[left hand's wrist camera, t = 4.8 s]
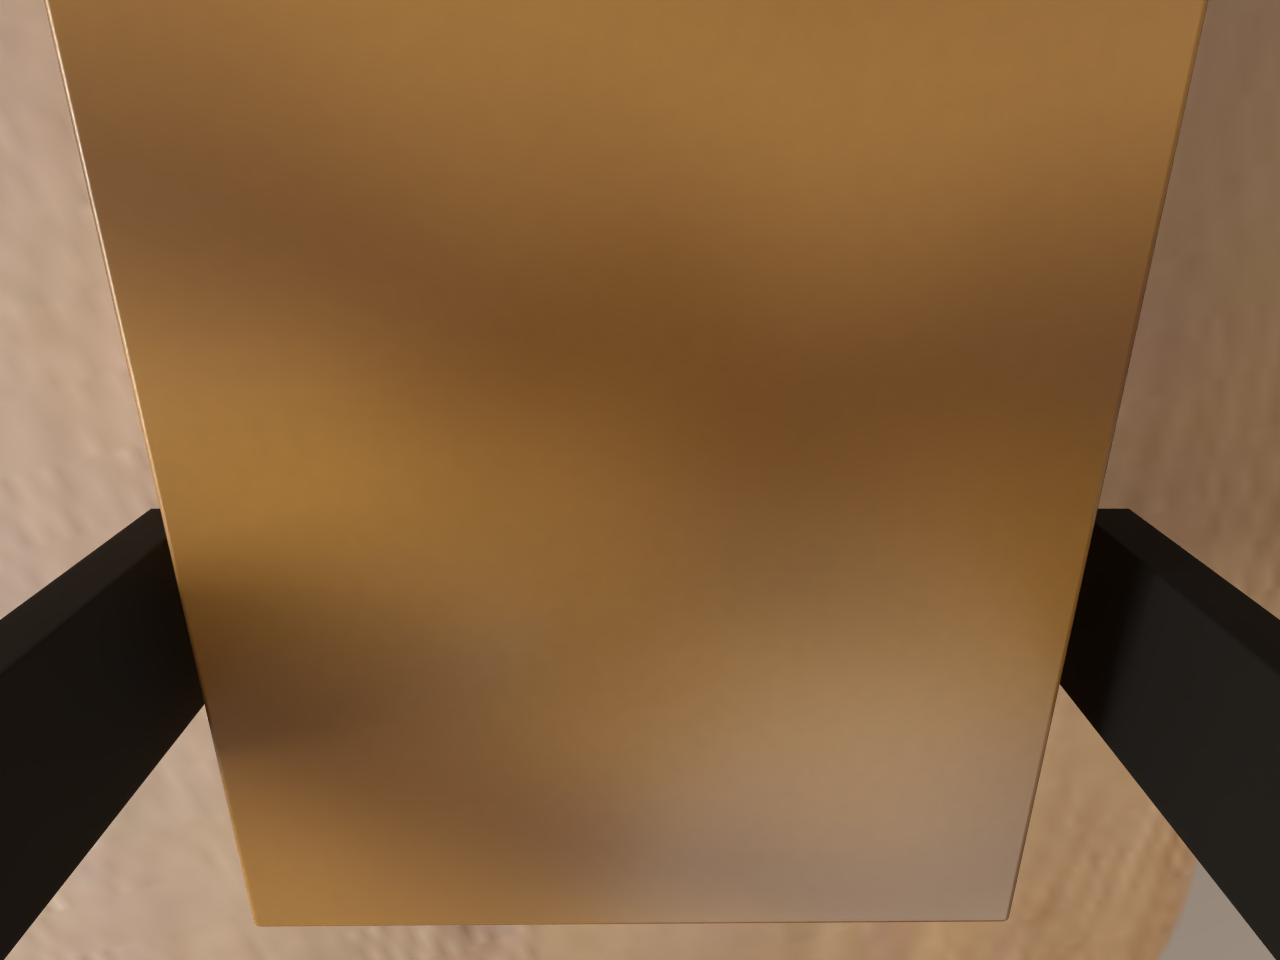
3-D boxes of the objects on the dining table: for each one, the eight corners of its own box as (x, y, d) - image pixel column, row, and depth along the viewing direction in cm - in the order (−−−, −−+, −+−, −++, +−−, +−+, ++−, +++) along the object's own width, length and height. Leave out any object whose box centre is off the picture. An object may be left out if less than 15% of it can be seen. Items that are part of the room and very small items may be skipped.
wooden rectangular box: (284, -387, 13) (-239, -1201, 5) (972, -383, 14) (1474, -1181, 5) (403, 622, 20) (252, 930, 12) (861, 619, 20) (1011, 924, 12)
